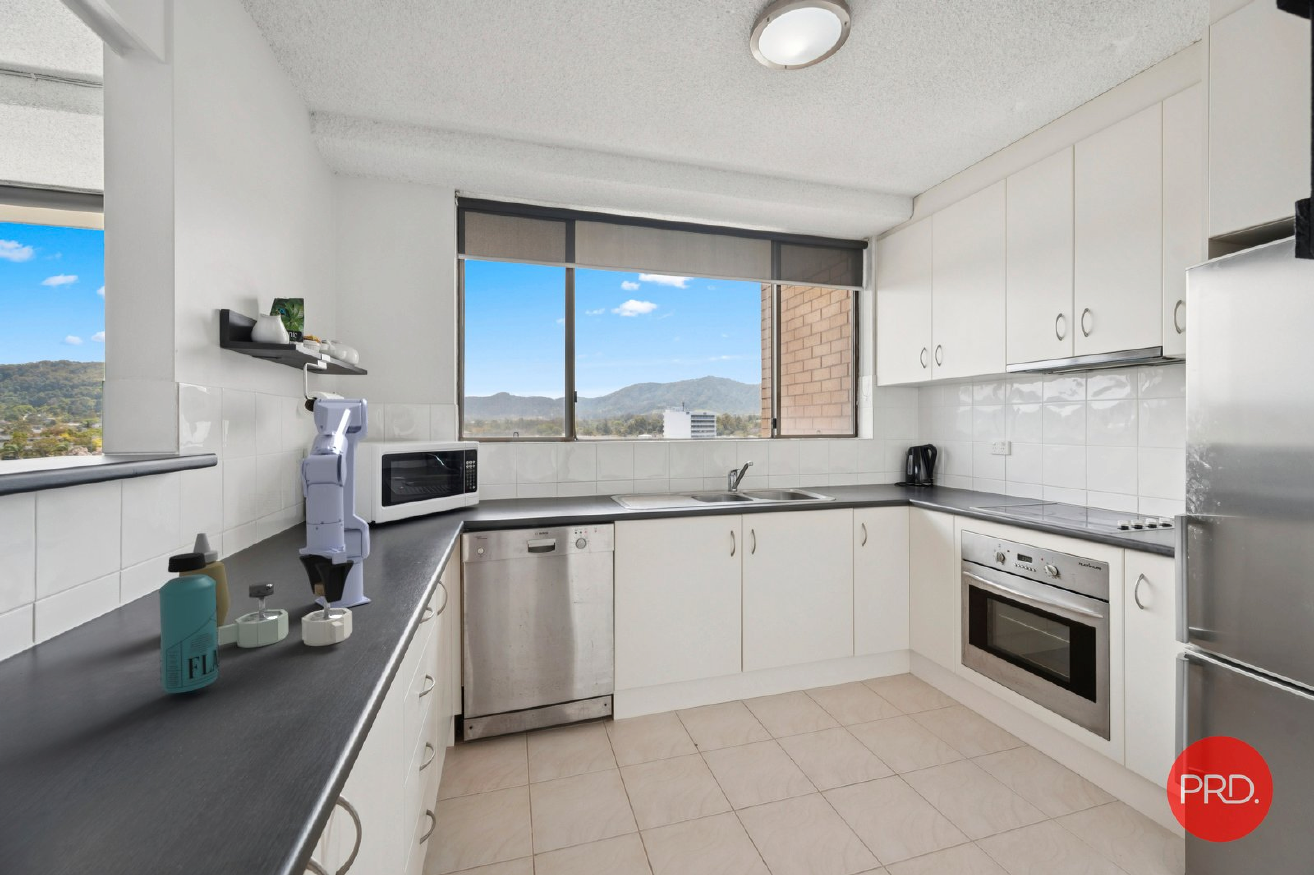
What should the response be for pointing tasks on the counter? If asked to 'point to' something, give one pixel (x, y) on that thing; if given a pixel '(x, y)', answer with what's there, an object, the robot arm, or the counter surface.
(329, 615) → the cream press plunger
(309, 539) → the robot arm
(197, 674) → the beverage bottle
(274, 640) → the sage press pot
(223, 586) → the squeeze bottle
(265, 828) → the counter surface
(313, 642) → the cream press pot
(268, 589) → the sage press plunger
